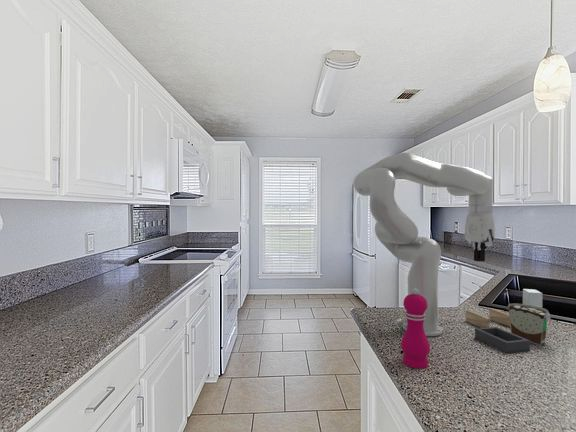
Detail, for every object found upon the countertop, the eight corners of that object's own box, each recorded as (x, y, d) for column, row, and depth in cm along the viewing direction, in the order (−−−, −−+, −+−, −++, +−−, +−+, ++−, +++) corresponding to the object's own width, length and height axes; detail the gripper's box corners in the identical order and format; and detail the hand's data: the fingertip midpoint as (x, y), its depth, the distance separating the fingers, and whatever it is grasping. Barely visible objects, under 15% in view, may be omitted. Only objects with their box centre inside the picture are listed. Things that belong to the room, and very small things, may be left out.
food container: (560, 344, 102) (560, 311, 101) (546, 347, 99) (546, 314, 99) (520, 331, 113) (520, 301, 113) (506, 333, 111) (506, 303, 111)
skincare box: (542, 327, 117) (543, 293, 117) (528, 326, 118) (528, 292, 118) (535, 322, 123) (535, 289, 123) (522, 320, 124) (522, 288, 124)
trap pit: (506, 353, 95) (506, 342, 95) (474, 338, 107) (474, 328, 107) (530, 350, 97) (530, 340, 97) (496, 336, 109) (496, 326, 109)
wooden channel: (487, 330, 114) (487, 318, 114) (465, 321, 124) (465, 310, 124) (515, 327, 116) (515, 316, 116) (492, 318, 126) (492, 308, 126)
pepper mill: (427, 372, 84) (427, 292, 84) (397, 365, 88) (398, 289, 88) (432, 361, 90) (432, 287, 90) (404, 355, 94) (404, 284, 94)
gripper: (457, 210, 129) (456, 258, 129) (486, 210, 114) (485, 264, 114) (474, 210, 130) (473, 258, 130) (505, 210, 115) (504, 264, 115)
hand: (479, 260), depth 122 cm, fingers closed
